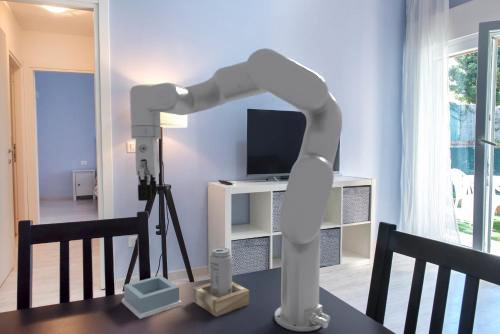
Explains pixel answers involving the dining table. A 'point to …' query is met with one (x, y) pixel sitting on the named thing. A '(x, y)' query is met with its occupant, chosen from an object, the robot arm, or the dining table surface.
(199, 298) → the wooden open box
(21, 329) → the dining table surface
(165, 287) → the port socket
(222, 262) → the energy drink can
